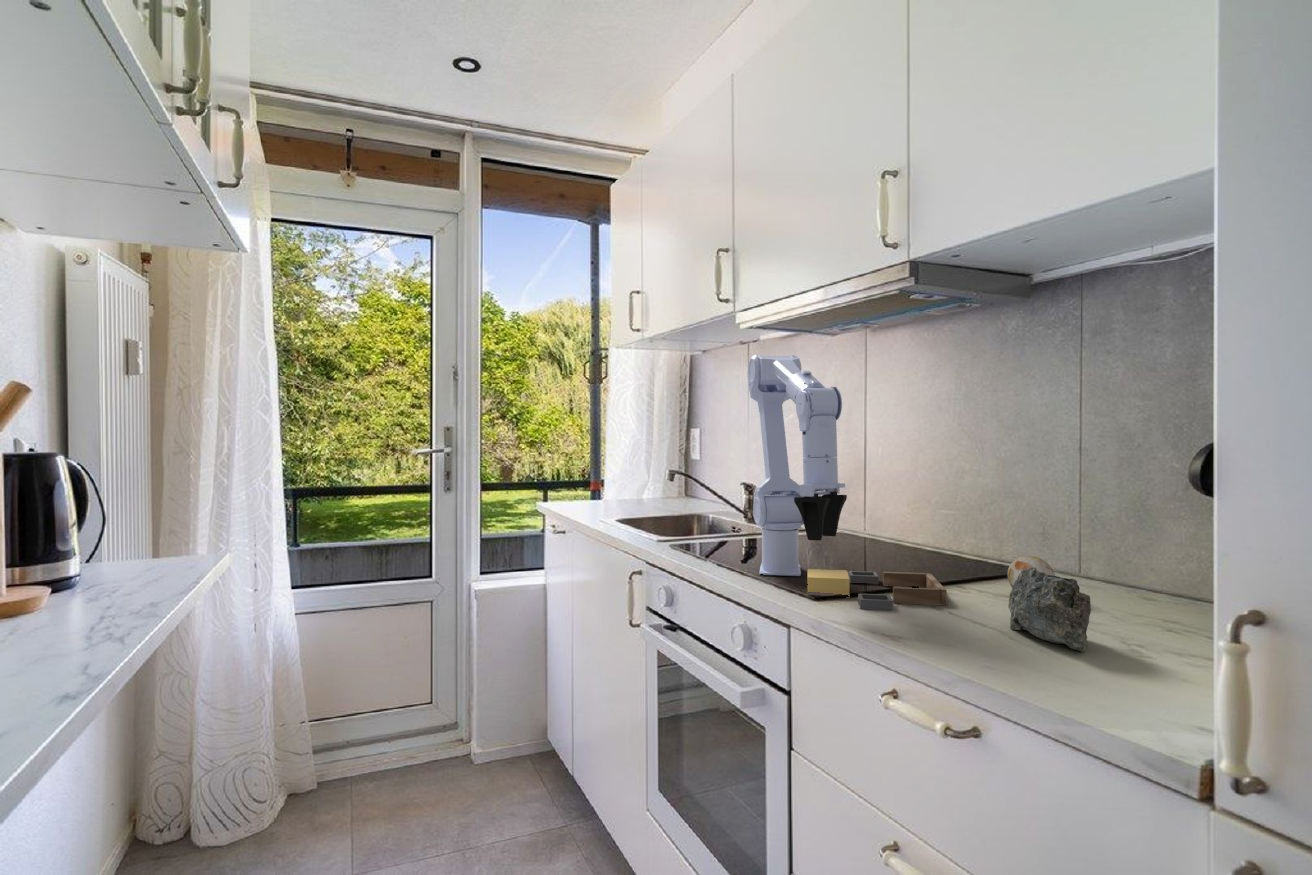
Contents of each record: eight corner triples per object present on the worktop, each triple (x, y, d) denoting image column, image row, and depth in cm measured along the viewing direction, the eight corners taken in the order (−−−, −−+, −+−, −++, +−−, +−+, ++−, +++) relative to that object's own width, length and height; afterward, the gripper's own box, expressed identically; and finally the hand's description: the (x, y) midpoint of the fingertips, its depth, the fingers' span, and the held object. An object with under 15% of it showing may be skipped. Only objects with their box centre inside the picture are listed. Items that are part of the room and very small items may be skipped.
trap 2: (858, 602, 115) (857, 593, 115) (889, 603, 114) (889, 594, 114) (860, 608, 111) (860, 599, 111) (893, 610, 110) (893, 600, 110)
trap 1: (848, 578, 132) (848, 570, 132) (875, 579, 131) (875, 571, 131) (850, 583, 128) (850, 575, 128) (878, 584, 128) (878, 576, 128)
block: (807, 587, 127) (807, 568, 127) (846, 589, 125) (846, 570, 125) (807, 597, 120) (807, 577, 120) (849, 599, 118) (849, 578, 118)
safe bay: (882, 585, 127) (883, 571, 127) (930, 586, 125) (930, 573, 125) (893, 603, 114) (893, 588, 114) (946, 605, 113) (946, 590, 113)
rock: (974, 631, 99) (974, 561, 99) (1019, 622, 103) (1020, 555, 103) (1070, 661, 86) (1071, 581, 86) (1118, 649, 91) (1118, 573, 90)
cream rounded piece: (1019, 610, 110) (1001, 551, 115) (1020, 623, 118) (1003, 567, 123) (1071, 603, 108) (1050, 542, 113) (1069, 616, 115) (1050, 559, 120)
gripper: (829, 456, 109) (832, 543, 108) (855, 457, 121) (858, 535, 121) (787, 457, 113) (789, 541, 112) (816, 458, 125) (818, 533, 124)
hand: (822, 538), depth 117 cm, fingers open, 7 cm apart
